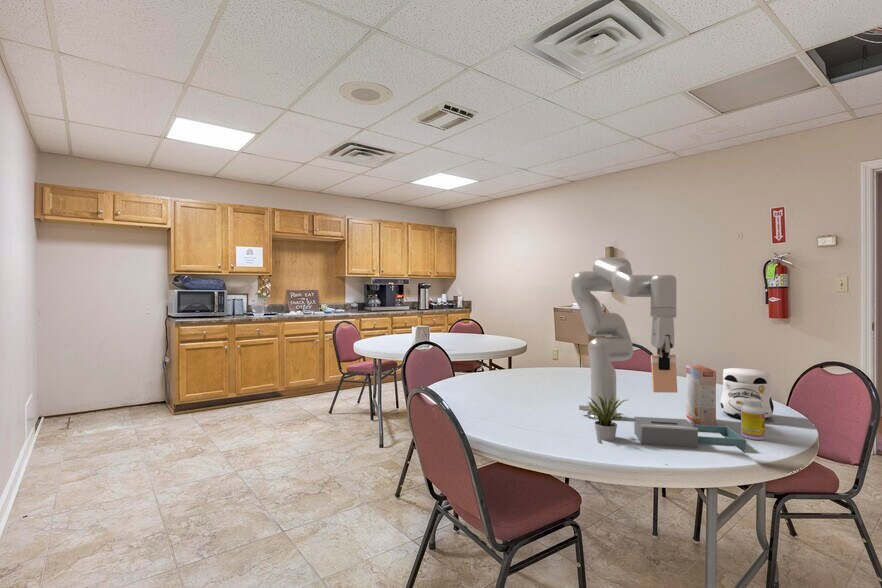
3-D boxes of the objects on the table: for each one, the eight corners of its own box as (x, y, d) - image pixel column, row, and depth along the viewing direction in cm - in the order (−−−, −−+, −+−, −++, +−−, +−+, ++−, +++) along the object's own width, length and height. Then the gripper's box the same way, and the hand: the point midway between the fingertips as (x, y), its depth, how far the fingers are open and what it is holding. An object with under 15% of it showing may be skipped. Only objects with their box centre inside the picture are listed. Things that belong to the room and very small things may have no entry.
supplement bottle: (766, 441, 145) (765, 402, 145) (741, 438, 148) (741, 400, 148) (764, 436, 151) (763, 398, 151) (740, 433, 154) (740, 396, 154)
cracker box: (717, 428, 160) (716, 370, 160) (699, 427, 161) (698, 370, 161) (702, 417, 174) (702, 364, 174) (685, 416, 175) (685, 364, 175)
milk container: (737, 422, 166) (737, 375, 166) (711, 410, 184) (711, 367, 184) (784, 423, 166) (784, 375, 166) (754, 410, 183) (754, 367, 183)
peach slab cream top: (653, 392, 143) (652, 355, 143) (652, 391, 145) (650, 354, 145) (677, 392, 142) (675, 355, 142) (676, 391, 143) (674, 354, 143)
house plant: (628, 436, 151) (628, 389, 151) (636, 450, 138) (636, 398, 138) (585, 434, 154) (584, 387, 154) (589, 447, 141) (588, 396, 141)
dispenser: (641, 449, 139) (641, 425, 139) (634, 437, 151) (634, 414, 151) (698, 452, 135) (697, 428, 135) (685, 440, 147) (685, 417, 147)
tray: (696, 447, 140) (696, 436, 140) (682, 433, 154) (682, 423, 154) (746, 450, 137) (745, 439, 137) (727, 436, 150) (727, 426, 150)
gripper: (645, 311, 152) (645, 364, 152) (656, 314, 136) (656, 373, 137) (669, 311, 150) (669, 365, 150) (683, 314, 135) (683, 374, 135)
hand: (663, 368), depth 143 cm, fingers closed on peach slab cream top, 1 cm apart
